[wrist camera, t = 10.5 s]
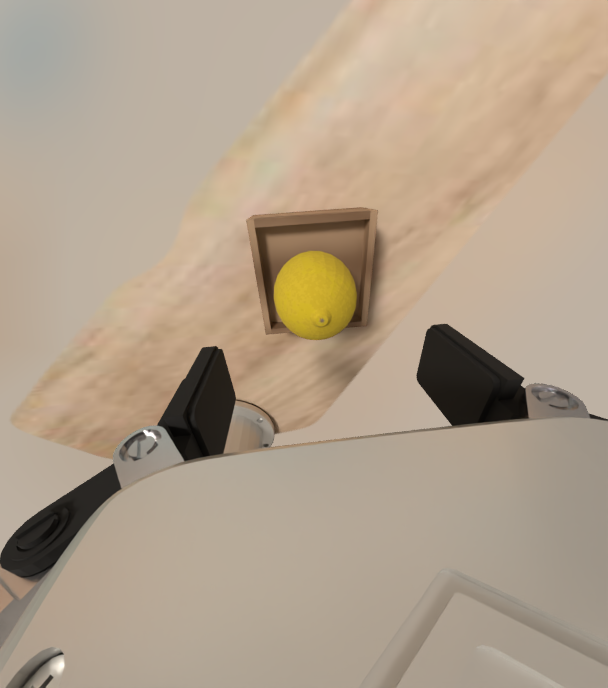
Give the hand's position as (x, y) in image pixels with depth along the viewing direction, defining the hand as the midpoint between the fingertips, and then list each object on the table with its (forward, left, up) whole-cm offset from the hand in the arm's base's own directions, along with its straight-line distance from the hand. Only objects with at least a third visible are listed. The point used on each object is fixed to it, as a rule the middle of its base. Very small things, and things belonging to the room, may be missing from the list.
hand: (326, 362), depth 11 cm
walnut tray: (+1, 0, -14) cm, 14 cm away
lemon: (+1, 0, -11) cm, 11 cm away
